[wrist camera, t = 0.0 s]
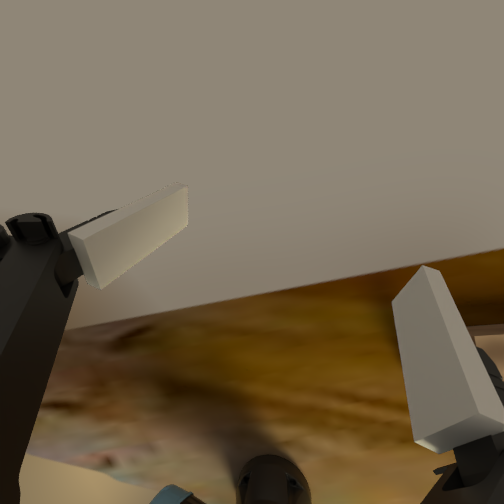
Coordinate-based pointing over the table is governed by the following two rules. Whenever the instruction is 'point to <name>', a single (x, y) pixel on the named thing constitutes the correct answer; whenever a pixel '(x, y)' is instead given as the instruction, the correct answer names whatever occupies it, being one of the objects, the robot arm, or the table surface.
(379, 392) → the table surface
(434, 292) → the robot arm
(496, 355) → the square peg hole block
